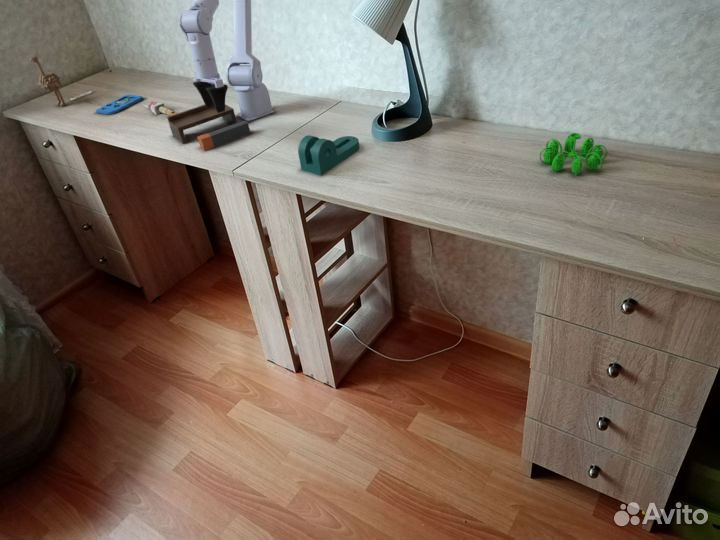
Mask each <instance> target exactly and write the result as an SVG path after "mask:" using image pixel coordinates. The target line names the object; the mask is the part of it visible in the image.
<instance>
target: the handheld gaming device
mask: <svg viewBox="0 0 720 540" xmlns="http://www.w3.org/2000/svg"><path fill="white" fill-rule="evenodd" d="M143 99H144V98H143V96H142V95H135V94H124V95H123V96H121V97H119V98H117V99H115V100H113V101H111V102H109V103H107V104H104V105H103V106H100V107H99V108H97V109H96V110H95V112H96V113H97V114H103V115H104V114H105V115H113V114H116V113H119V112H121V111H122V110H124V109H126V108H128V107H130V106H132V105H135V104H136V103H138V102H139V101H142V100H143Z"/></svg>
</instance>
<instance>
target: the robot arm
mask: <svg viewBox="0 0 720 540" xmlns="http://www.w3.org/2000/svg"><path fill="white" fill-rule="evenodd" d="M219 6H220V0H193V1H192V3H191V5H190V7H189V9H188V10H184V11H183V12H182V13H181V14H180V16H179V28H180V30H181V31H182V33H183V34H184V36H185V41H186V42H188V45H189V49H190V52H191V53H190V54H191V58H192V60H193V61H192V62H193V65H194V69H195V70H194V76H195V77H193V78H192V79H193V82H192V85H193V87H195V89H196V90H197V91H198V93H199V96H200V98H201V99H202V101H203V103H204V104H205V105H206V107H210V106H213V105H214V106H215V109H216V111H217V112H218V113H220V112H223V111H225V104H226V96H227V92H228V88H229V86H230V87H232V90H233V91H234V90H235V94H236V98H237V102H238V106H239V110H240V112H238V113H236V116H237V117H239V118H240V119H242V120H243V121H246V122H251V121H254V120H257V119H259V118H262V117H265V116H267V115H271V114H273V113H275V111H274V110H273V107H272V106H273V105H272V102H271V97H270V92H269V90H268V87H267V86H266V84H265V83H263V79H264V76H263V71H262V63H261V61H260V59H258V58H257V57H256V56H255V55H253V44H252V43H253V39H252V38H253V35H252V33H253V32H252V29H253V27H252V26H253V25H252V24H253V23H252V0H232V6H233V51H234V52H233V53H232V55H230V57H229V58H228V59H227V66H226V70H225V78H226V82H227V83H228V85H229V86H228V85H227V84H224V81H223V79H222V78H221V76H220V73H219V70H218V66H217V61H216V57H215V52H214V47H213V42H212V38H211V35H210V34H211V32H212V29H213V21H214V15H215V13H216V11H217V10H218V7H219Z"/></svg>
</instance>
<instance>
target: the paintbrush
mask: <svg viewBox="0 0 720 540" xmlns="http://www.w3.org/2000/svg"><path fill="white" fill-rule="evenodd" d="M141 105H142V106H143V107H144V108H146V109H148V110H149V111H150V112H152V113H153V114H155V115H157V116H158V115H160V114H165V115H167V116H172V115H174V114H177V113H178V112H177V111H174V110H172V109H169V108H167V107H165V103H164V102H161V101H160V102H157V101H146V102H144V103H141Z"/></svg>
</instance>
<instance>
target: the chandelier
mask: <svg viewBox="0 0 720 540" xmlns="http://www.w3.org/2000/svg"><path fill="white" fill-rule="evenodd" d="M581 138H582V134H580V133H577V132H573V133H570V134H569V135H568V136H567V138H566V139H565V142H564V147H563V146H562V144H561V142H560V141H559V140H558V139H555V138H551V139H549V140H547V142H546V144H545V147H544V148H542V150H541V151H540V152H539V160H540V161H541V162H542V163H543V164H545V165H551V170H552V172H554V173H558V172H559V171H561V170H563V169H564V165H565V162H566V160H568V159H569V158H571V159H573V161H572V162H571V170H570V171H571V172H572V173H574V175H575V176H578V175H579V174H580V173H581V172H582V169H583V160H584V164H585V166H586V168H587V169H588V170H589V171H593V172H595V171H599V170H600V169H601V168H602V167H603V161H604V160H605V159H606V158H607V156H608V152H609V151H608V149H607V148H606V146H605V145H602V144H596V145H595V144H594V143H595V141H594V139H593V137H587V138H586V139H584V141H583V143H582V145H581V146H580V149H579V150H578V151H576V143H577V140H580V139H581ZM603 148H604V149H605V155H604V157H603V153H604V152H603V150H604V149H603ZM563 149H564V150H563ZM543 152H544V154H543V159H542V157H541V156H542V153H543ZM562 152H563V153H562ZM564 153H565V154H564ZM566 156H567V157H566ZM583 156H585V157H583ZM587 158H588V159H587ZM599 163H600V165H599Z"/></svg>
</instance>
